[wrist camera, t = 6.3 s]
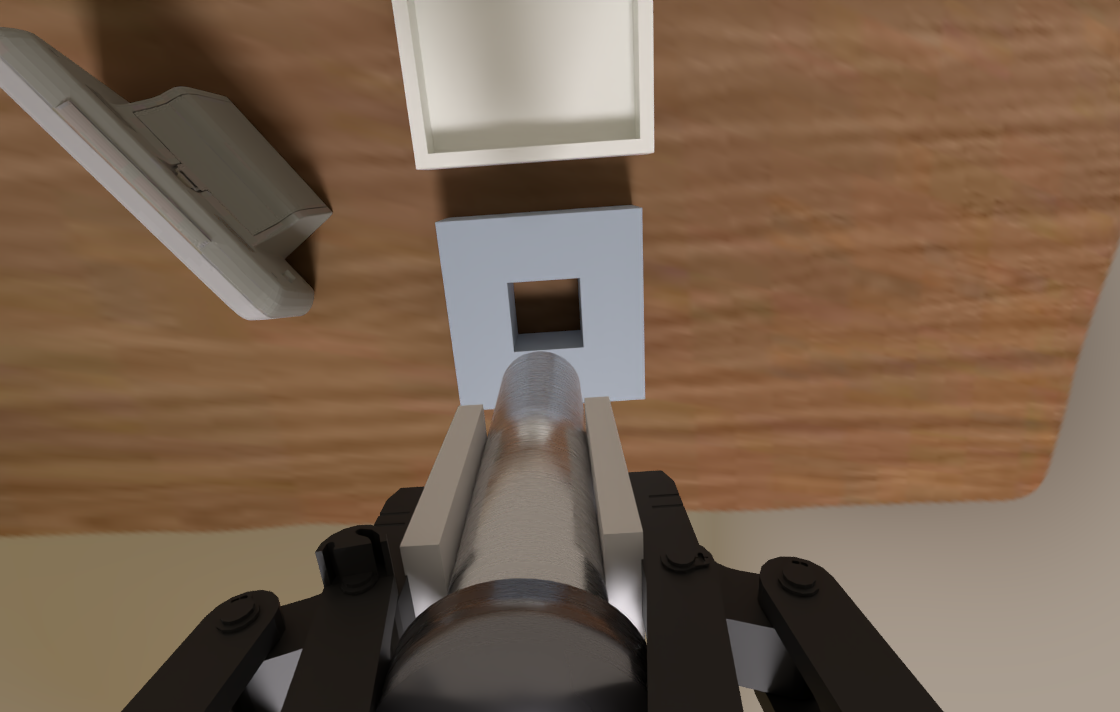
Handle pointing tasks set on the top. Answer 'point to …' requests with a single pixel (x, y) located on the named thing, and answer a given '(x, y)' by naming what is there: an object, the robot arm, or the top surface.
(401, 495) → the robot arm
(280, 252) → the digital clock
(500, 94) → the tray
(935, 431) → the top surface
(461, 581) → the pin
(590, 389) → the socket block
